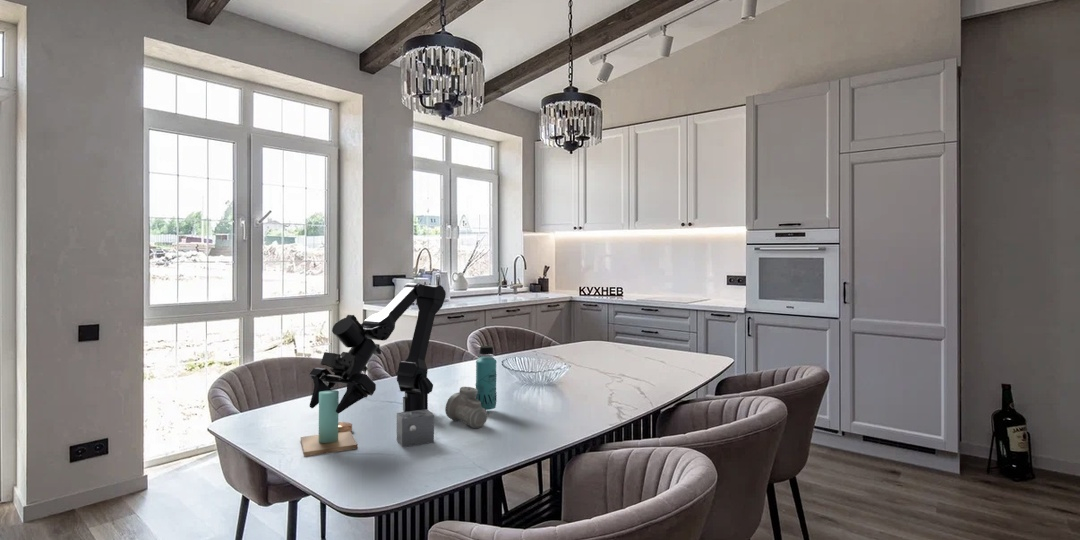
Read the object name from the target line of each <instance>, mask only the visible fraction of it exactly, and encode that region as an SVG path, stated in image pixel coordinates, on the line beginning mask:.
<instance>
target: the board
mask: <svg viewBox="0 0 1080 540" xmlns="http://www.w3.org/2000/svg"><path fill="white" fill-rule="evenodd" d="M300 444H301V448H302V453H303V456H304V457H310V456H314V455H315V456H316V455H322V454H329V453H335V452H336V453H337V452H344V451H349V450H355V449H358V443H357V441H356V439H355V438H354V435H353V432H350V431H343V432H338V441H336V442H332V443H320V442H319V434H314V435H306V436H300Z"/></svg>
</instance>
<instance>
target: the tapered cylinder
mask: <svg viewBox="0 0 1080 540" xmlns="http://www.w3.org/2000/svg"><path fill="white" fill-rule="evenodd" d="M339 396H340V393H339V391H338V390H336V389H335V390H334V389H331V390H327V391H321V392H319V403H318V435H319V442H320V443H332V442H336V441H338V423H339V413H337V412H336V409H337V407H338V405H339V403H340V401H339V400H340V399H339V398H340V397H339Z"/></svg>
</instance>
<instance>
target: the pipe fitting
mask: <svg viewBox="0 0 1080 540" xmlns="http://www.w3.org/2000/svg"><path fill="white" fill-rule="evenodd" d="M477 391H478V390H477V389H476V387H475V388H474V387H471V386H461V387H459V391H458V392H456V393H453V394H452V395H451V396H450V397H448V399H447V401H446V404H445V408H444V411H445V415H446V416H447V418H449V419H450V420H452V421H453V422H463V423H465V424H466V425H467V426H469V427H471V428H473V429H480V428H482V427H484V425H485V424H486V423H487V421H488V410H485V409H484V408H483V407H481V402H480V401H479V400H477V399H476V395H477Z"/></svg>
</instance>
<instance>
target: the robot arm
mask: <svg viewBox="0 0 1080 540" xmlns="http://www.w3.org/2000/svg"><path fill="white" fill-rule="evenodd" d="M446 292H447V291H446V289H445V288H444V287H443V285H440V284H421V283H419V282H408V283H405V285H404V286H403V289H401V291H399V293H397V295H395V297H394V298H393V299H392V300H391V301H390V302H389V303H388V304H387V305H386V306H385V307H384V308H383V309H382V310H380V311H379V312H376V313H373V314H372V315H370V316H368V317H367V318H366V319H364V320H363V321H362V323H360V322H359V320H358V319H357V317H356V316H355V314H347V315H346V317H344V318H341V319H340V320H338V321H337V322H335V323H334V324H333V326H332V330H331V332H332V334H333V335H334V336H335V337H336V338H337V339H338V340H339V341H340V343H341V344H342V345H343V346H344V347H345V348H347V349H348V348H350V349H349V351H347V352H345V351H341V353H334V352H326V351H324V352H323V355H322V358H321V360H320V365H321V366H326V367H329V370H328V369H327V368H323V367H314V368H312V370H310V373H309V375H308V376H309V377H310V378H311V379H310V380H312V381H313V390H312V395H311V399H310V402H309V408H311V409H314V408H316V407H317V406H318V405H319V392H321V391H327V390H332V389H331V388H333V387H334V386H335V385H336V384H338V385H345V386H346V391H345V393H344V394H343V396H342V398H341V399H340V401H339V405H338V407H337V409H336V412H337V413H338V414H341V413H342V412H343V411H345V410H346V409H348V408H349V407H351V406H352V405H354V404H355V403H357V402H359V401H361V400H363V399H364V398H367V397H368V396H373V394H374V393H375V391H376V390H377V389H376V388H377V387H376V386H377V384H376V383H375V382H374V381H373V380H372V378H370V377H369V375H368V374H365V373H366V372H367V371H368V369H369V368H368V367H367V364H368V363H369V361H370V360H371V358H372V357H373V355H379V356H380V355H382V351H381V348H380V347H381V345H380V344H379V343H376V342H375V341H387V340H388V339H389V338H390V336H391V335H392V333H393V332H394V331H395V328H396V323H397V321H398V320H399V319H400V318H401V317H402V315H404V313H406V311H407V310H408V309H409V308H410V307H411V306H412V305H413V304H414V302H416V305H417V308H418V315H417V318H416V319H417V320H416V323H415V327H414V332H413V335H412V340H411V345H410V347H409V351H408V352H409V353H408V356H407V358H406V359H405V360H403V361H400V362H399V364H398V368H397V372H396V373H395V374H396V381H397V383H398V387H399V391H400V393H401V392H404V396H403V397H402V412H409V411H417V410H425V409H428V408H429V407H428V405H429V403H428V402H429V397H428V396H429V395H428V394H431V393H432V392H433V389H434V384H433V383H432V381H431V380H430V379H429V378H428V366H427V363H426V356H427V351H428V347H429V343H430V338H431V334H432V329H433V325H434V321H435V317H436V314H437V313H438V312H439V311H440V310H441V309H442V307H443V304H444V301H445V299H446V294H447V293H446ZM330 371H331V372H332V373H334V374H332V373H331V372H330ZM362 372H365V373H362ZM428 410H429V409H428Z"/></svg>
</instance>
